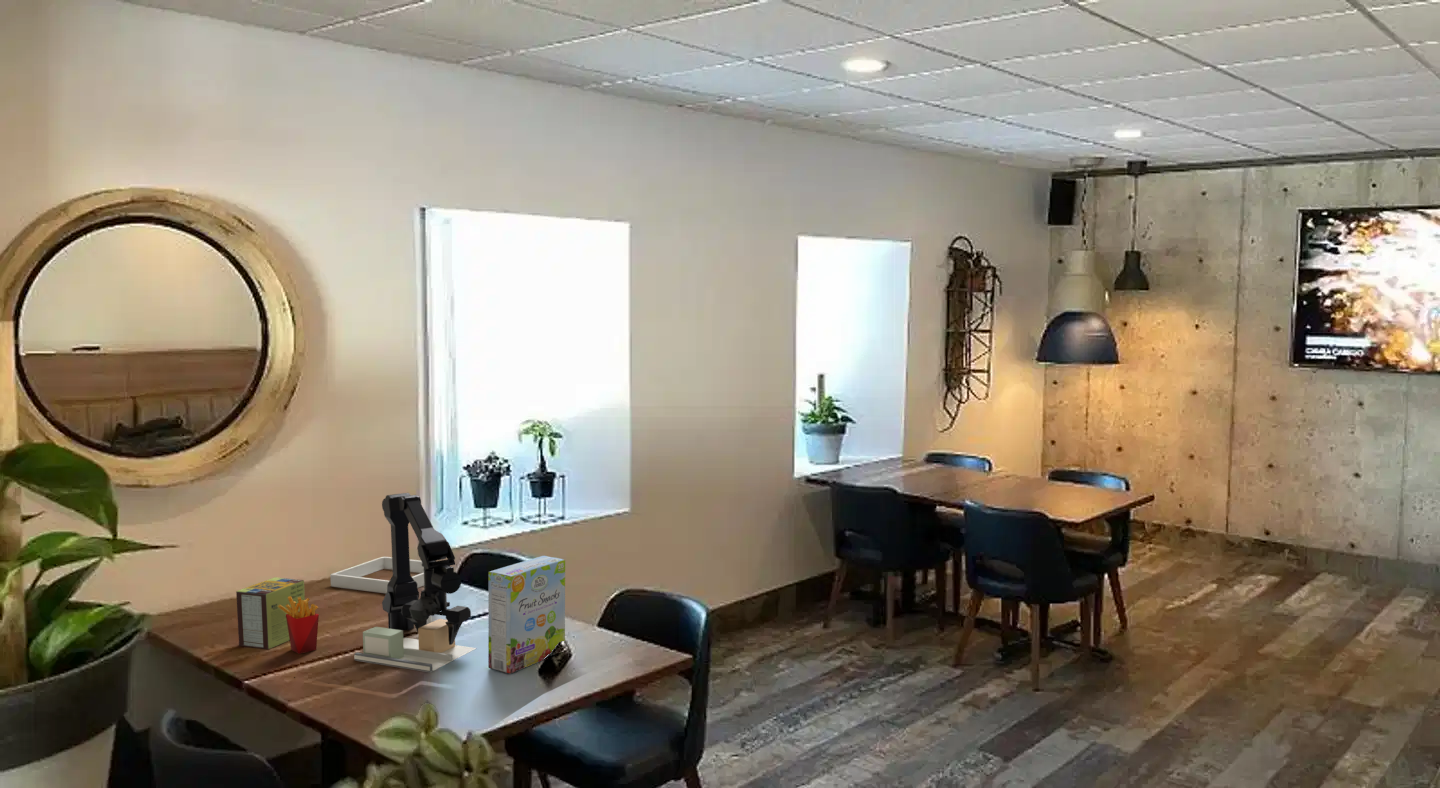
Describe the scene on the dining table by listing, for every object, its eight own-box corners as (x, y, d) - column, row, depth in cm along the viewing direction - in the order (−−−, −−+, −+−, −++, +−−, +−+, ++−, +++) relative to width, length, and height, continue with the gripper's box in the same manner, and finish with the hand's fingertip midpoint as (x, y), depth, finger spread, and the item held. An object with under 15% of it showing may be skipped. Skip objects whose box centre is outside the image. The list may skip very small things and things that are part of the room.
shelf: (354, 663, 286) (354, 653, 286) (404, 640, 305) (404, 631, 304) (429, 675, 277) (429, 665, 277) (476, 651, 295) (476, 641, 295)
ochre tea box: (434, 656, 289) (433, 630, 288) (418, 653, 291) (417, 628, 290) (455, 646, 297) (454, 620, 296) (439, 643, 299) (439, 618, 298)
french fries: (310, 644, 302) (308, 590, 300) (323, 651, 296) (321, 596, 294) (278, 651, 296) (276, 597, 294) (291, 658, 290) (289, 603, 288)
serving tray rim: (330, 586, 360) (330, 574, 360) (383, 567, 384) (383, 556, 384) (399, 595, 350) (399, 582, 349) (449, 575, 373) (449, 563, 373)
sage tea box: (403, 656, 289) (402, 630, 288) (391, 662, 284) (390, 636, 284) (376, 652, 292) (375, 626, 292) (363, 658, 288) (362, 632, 287)
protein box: (307, 633, 312) (304, 579, 310) (268, 649, 297) (265, 594, 296) (277, 629, 315) (274, 576, 314) (237, 646, 301) (234, 590, 299)
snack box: (512, 675, 276) (510, 576, 274) (487, 669, 281) (484, 571, 278) (568, 651, 295) (566, 557, 292) (543, 646, 299) (541, 553, 297)
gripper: (386, 589, 288) (388, 647, 290) (445, 597, 281) (447, 656, 283) (414, 579, 299) (415, 634, 300) (471, 586, 291) (472, 643, 293)
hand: (436, 642), depth 294 cm, fingers open, 9 cm apart
